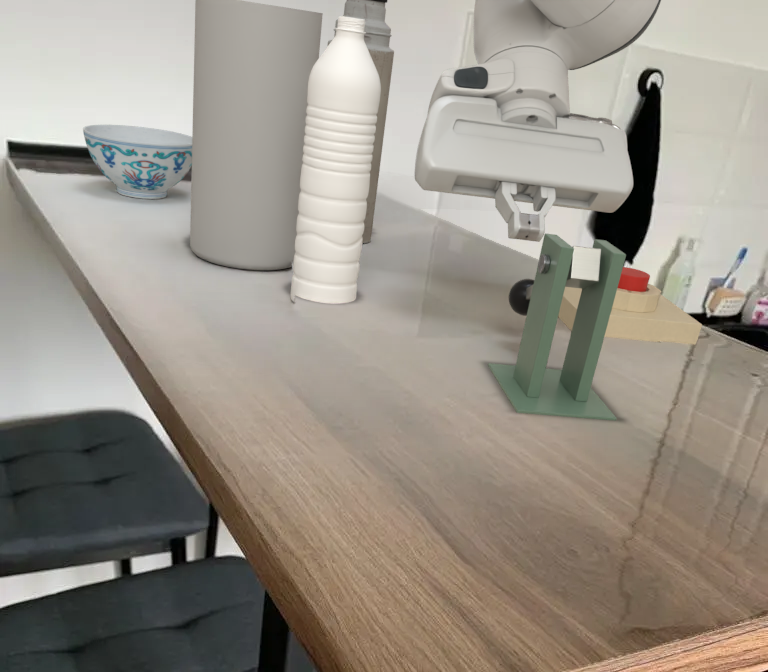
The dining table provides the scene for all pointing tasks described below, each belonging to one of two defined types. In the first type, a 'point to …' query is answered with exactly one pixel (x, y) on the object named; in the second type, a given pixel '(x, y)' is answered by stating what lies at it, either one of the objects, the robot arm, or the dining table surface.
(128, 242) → the dining table surface
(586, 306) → the switch bracket
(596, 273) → the lever
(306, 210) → the water bottle
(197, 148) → the cylinder vase
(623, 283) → the stop button
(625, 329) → the tan square base plate
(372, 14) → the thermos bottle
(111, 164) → the chinaware
